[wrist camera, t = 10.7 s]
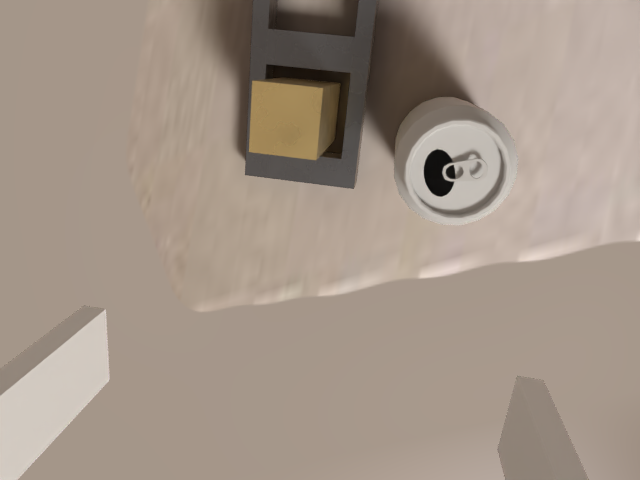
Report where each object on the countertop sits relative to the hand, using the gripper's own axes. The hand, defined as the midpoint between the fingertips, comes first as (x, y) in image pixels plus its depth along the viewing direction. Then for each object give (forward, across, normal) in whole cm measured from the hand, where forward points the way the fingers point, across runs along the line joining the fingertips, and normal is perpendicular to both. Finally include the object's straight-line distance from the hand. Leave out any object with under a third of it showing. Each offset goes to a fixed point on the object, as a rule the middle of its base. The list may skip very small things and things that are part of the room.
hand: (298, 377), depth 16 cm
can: (+29, -6, -4) cm, 30 cm away
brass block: (+29, +5, -6) cm, 30 cm away
